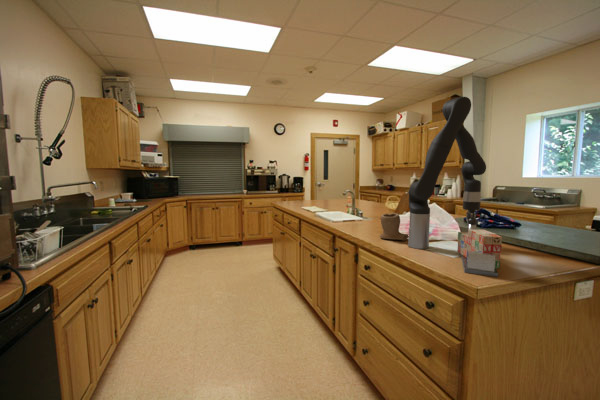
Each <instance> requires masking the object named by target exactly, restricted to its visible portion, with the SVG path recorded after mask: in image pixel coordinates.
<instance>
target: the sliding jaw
mask: <svg viewBox="0 0 600 400" xmlns="http://www.w3.org/2000/svg"><path fill="white" fill-rule="evenodd" d="M477 224H478V220H477V218H476V217H475V218H469V219H468V226H467V228H468V229H472V230H477Z"/></svg>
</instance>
